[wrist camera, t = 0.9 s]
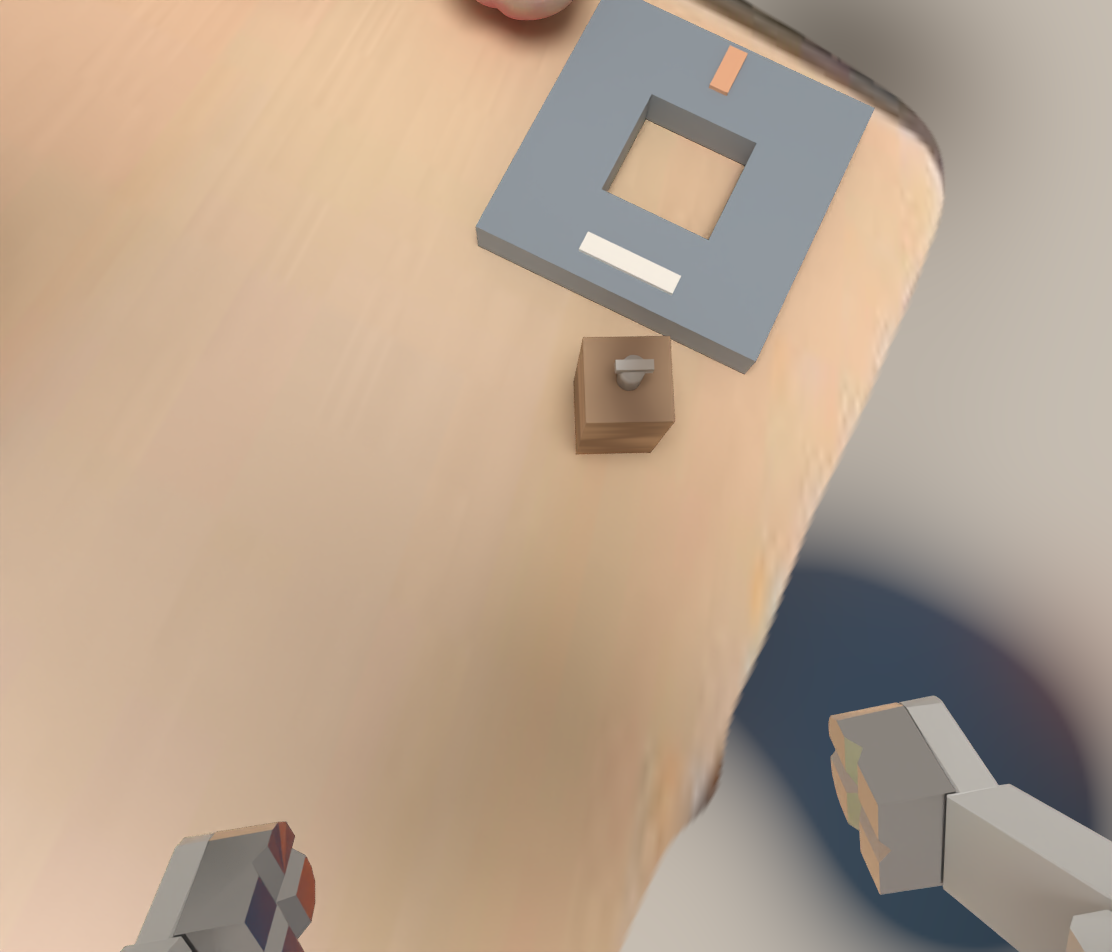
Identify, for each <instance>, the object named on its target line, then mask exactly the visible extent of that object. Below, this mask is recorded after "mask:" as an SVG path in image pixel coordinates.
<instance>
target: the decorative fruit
mask: <svg viewBox="0 0 1112 952" xmlns="http://www.w3.org/2000/svg"><path fill="white" fill-rule="evenodd" d="M476 1H478V2H479V3H481V4H483V5H485V6H487V7H491V8H497V9H499V10H500V11H501V12H502V13H503V14H504V15H506V16H508V17H510V18H512V19H517V20H538V19H543V18H546V17H549V16H552V15H554V14H556V13H558V12H560V11H562V10H563V9H564V8H566V7H567V6H568V5H569V4H570V3H571V2H572V1H573V0H476Z"/></svg>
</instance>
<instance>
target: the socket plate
mask: <svg viewBox="0 0 1112 952" xmlns="http://www.w3.org/2000/svg"><path fill="white" fill-rule="evenodd" d="M874 109H875V108H873V107H871V106H869V105H867V104H864V103H862V102H860V101H858V100H856V99H854V98H852V97H849V96H847V95H845V94H843V93H841V92H839V91H836V90H834V89H832V88H830V87H828V86H826V85H824V84H821V83H819V82H817V81H815V80H813V79H811V78H808V77H806V76H804V75H802V74H800V73H798V72H796V71H793V70H791V69H789V68H787V67H785V66H783V65H780V64H778V63H776V62H774V61H772V60H770V59H768V58H765V57H763V56H761V55H759V54H757V53H755V52H752V51H750V50H748V49H746V48H744V47H742V46H740V45H737V44H735V43H733V42H731V41H729V40H727V39H724V38H722V37H720V36H718V35H716V34H714V33H712V32H709V31H707V30H705V29H703V28H701V27H699V26H696V25H694V24H692V23H690V22H688V21H686V20H684V19H681V18H679V17H677V16H675V15H673V14H671V13H668V12H666V11H664V10H662V9H660V8H658V7H656V6H653V5H651V4H649V3H647V2H645V1H643V0H601V1H600V3H599V5H598V7H597V8H596V10H595V12H594V14H593V16H592V17H591V19H590V21H589V23H588V25H587V26H586V28H585V30H584V32H583V34H582V35H581V37H580V39H579V41H578V43H577V44H576V46H575V48H574V50H573V52H572V54H571V55H570V57H569V59H568V61H567V63H566V64H565V66H564V68H563V70H562V72H561V73H560V75H559V77H558V79H557V81H556V82H555V84H554V86H553V88H552V90H551V91H550V93H549V95H548V97H547V99H546V100H545V102H544V104H543V106H542V108H541V110H540V111H539V113H538V115H537V117H536V119H535V120H534V122H533V124H532V126H531V128H530V129H529V131H528V133H527V135H526V137H525V138H524V140H523V142H522V144H521V146H520V147H519V149H518V151H517V153H516V155H515V156H514V158H513V160H512V162H511V164H510V165H509V167H508V169H507V171H506V173H505V175H504V176H503V178H502V180H501V182H500V184H499V185H498V187H497V189H496V191H495V193H494V194H493V196H492V198H491V200H490V202H489V203H488V205H487V207H486V209H485V211H484V212H483V214H482V216H481V218H480V220H479V221H478V223H477V225H476V232H477V240H478V246H480V247H482V248H484V249H486V250H488V251H490V252H492V253H494V254H496V255H499V256H501V257H503V258H505V259H507V260H509V261H511V262H513V263H515V264H517V265H519V266H521V267H523V268H525V269H528V270H530V271H532V272H534V273H536V274H538V275H540V276H542V277H544V278H546V279H548V280H550V281H552V282H554V283H557V284H559V285H561V286H563V287H565V288H567V289H569V290H571V291H573V292H575V293H577V294H579V295H581V296H583V297H585V298H588V299H590V300H592V301H594V302H596V303H598V304H600V305H602V306H604V307H606V308H608V309H610V310H612V311H614V312H617V313H619V314H621V315H623V316H625V317H627V318H629V319H631V320H633V321H635V322H637V323H639V324H641V325H643V326H646V327H648V328H650V329H652V330H654V331H656V332H658V333H660V334H662V335H664V336H670V339H672V340H674V341H677V342H679V343H681V344H683V345H685V346H687V347H689V348H691V349H693V350H695V351H697V352H699V353H701V354H703V355H706V356H708V357H710V358H712V359H714V360H716V361H718V362H720V363H722V364H724V365H726V366H728V367H730V368H732V369H735V370H737V371H739V372H741V373H743V374H745V373H746V372H747V371H748V370H749V368H750V367H751V366H752V365H753V364H754V363H755V362H756V360H757V358H758V356H759V354H760V352H761V349H762V347H763V345H764V343H765V341H766V339H767V337H768V334H769V332H770V330H771V328H772V326H773V324H774V322H775V320H776V317H777V315H778V313H779V311H780V309H781V307H782V305H783V303H784V300H785V298H786V296H787V294H788V292H789V290H790V288H791V285H792V283H793V281H794V279H795V277H796V275H797V273H798V271H799V268H800V266H801V264H802V262H803V260H804V258H805V256H806V254H807V251H808V249H809V247H810V245H811V243H812V241H813V239H814V237H815V234H816V232H817V230H818V228H819V226H820V224H821V222H822V219H823V217H824V215H825V213H826V211H827V209H828V207H829V205H830V202H831V200H832V198H833V196H834V194H835V192H836V190H837V188H838V185H839V183H840V181H841V179H842V177H843V175H844V173H845V170H846V168H847V166H848V164H849V162H850V160H851V158H852V156H853V153H854V151H855V149H856V147H857V145H858V143H859V141H860V139H861V136H862V134H863V132H864V130H865V128H866V126H867V124H868V121H869V119H870V117H871V115H872V113H873V111H874ZM645 119H647V120H649V121H651V122H653V123H656V124H658V125H660V126H662V127H664V128H666V129H668V130H670V131H673V132H675V133H677V134H679V135H681V136H683V137H685V138H687V139H690V140H692V141H694V142H696V143H698V144H700V145H702V146H704V147H707V148H709V149H711V150H713V151H715V152H717V153H719V154H721V155H724V156H726V157H728V158H730V159H732V160H734V161H736V162H738V163H741V164H743V165H745V168H744V170H743V172H742V174H741V176H740V178H739V180H738V182H737V184H736V186H735V188H734V190H733V192H732V194H731V196H730V198H729V200H728V202H727V204H726V206H725V208H724V210H723V212H722V214H721V216H720V218H719V220H718V222H717V224H716V226H715V228H714V230H713V232H712V234H711V236H710V238H709V240H707V239H705V238H703V237H701V236H699V235H697V234H695V233H692V232H690V231H688V230H686V229H684V228H682V227H680V226H678V225H676V224H674V223H671V222H669V221H667V220H665V219H663V218H661V217H659V216H657V215H655V214H653V213H650V212H648V211H646V210H644V209H642V208H640V207H638V206H636V205H634V204H632V203H629V202H627V201H625V200H623V199H621V198H619V197H617V196H615V195H613V194H611V193H608V190H609V188H610V186H611V184H612V182H613V180H614V178H615V176H616V175H617V173H618V171H619V169H620V167H621V165H622V163H623V161H624V159H625V157H626V156H627V154H628V152H629V150H630V148H631V146H632V144H633V142H634V140H635V138H636V137H637V135H638V133H639V131H640V129H641V127H642V125H643V123H644V121H645Z"/></svg>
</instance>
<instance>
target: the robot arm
mask: <svg viewBox="0 0 1112 952" xmlns="http://www.w3.org/2000/svg"><path fill="white" fill-rule="evenodd" d="M829 735H830V738H831V740H832V742H833V744H834V747H835V749H836V751H835V752H834V753H833V754H832V756H831V765H832V775H833V779H834V784H835V788H836V792H837V795H838V798H839V801H840V804H841V807H842V809H843V812H844V814H845V816H846V819H847V821H848V823H849V824H850V825H851V826H853V827H855V828H856V829H857V830H859V831H860V846H861V853H862V855H863V858H864V860H865V862H866V864H867V866H868V869H869V871H870V873H871V875H872V877H873V880H874V882H875V884H876V886H877V889H878V891H879V893H880V895H881V894H887V893H894V892H900V891H907V890H913V889H921V888H928V887H934V886H941V885H943V889H944V890H946V891H947V892H948V893H949V894H950V895H952V896H953V897H954V898H955V899H956V900H958V901H959V902H960V903H961V904H962V905H964V906H965V907H966V908H967V909H968V910H970V911H971V912H972V913H973V914H975V915H976V916H977V917H978V918H979V919H981V920H982V921H983V922H984V923H985V924H987V925H988V926H989V927H990V928H992V929H993V930H994V931H995V932H996V933H998V934H999V935H1000V936H1001V937H1002V938H1004V939H1005V940H1006V941H1007V942H1008V943H1010V944H1011V945H1012V946H1013V947H1014V948H1016V949H1017V950H1018V951H1019V952H1112V841H1110V840H1108V839H1106V838H1105V837H1103V836H1101V835H1099V834H1097V833H1096V832H1094V831H1092V830H1090V829H1089V828H1087V827H1085V826H1083V825H1081V824H1080V823H1078V822H1076V821H1074V820H1073V819H1071V818H1069V817H1067V816H1066V815H1064V814H1062V813H1060V812H1059V811H1057V810H1055V809H1053V808H1051V807H1050V806H1048V805H1046V804H1044V803H1043V802H1041V801H1039V800H1037V799H1035V798H1034V797H1032V796H1030V795H1028V794H1027V793H1025V792H1023V791H1021V790H1020V789H1018V788H1016V787H1014V786H1012V785H1011V784H1005V785H998V784H997V782H996V781H995V779H994V778H993V776H992V775H991V773H990V772H989V770H988V769H987V768H986V766H985V764H984V763H983V762H982V760H981V759H980V757H979V756H978V754H977V753H976V751H975V750H974V748H973V747H972V745H971V744H970V742H969V741H968V739H967V738H966V736H965V735H964V733H963V732H962V731H961V729H960V727H959V726H958V724H957V723H956V721H955V720H954V718H953V717H952V715H951V714H950V712H949V711H948V710H947V708H946V706H945V705H944V703H943V702H942V701H941V700H940V699H939V698H937V697H936V696H930V697H924V698H919V699H914V700H909V701H904V702H900V703H899V704H898V703H892V704H887V705H882V706H877V707H872V708H867V709H862V710H857V711H852V712H847V713H842V714H838V715H833V716H830V719H829ZM294 838H295V835H294V833H293V832H292V830H291V829H290V827H289V825H288V824H287V822H274V823H268V824H262V825H256V826H250V827H244V828H237V829H231V830H225V831H219V832H215V833H209V834H203V835H198V836H192V837H186V838H184V839H183V840H182V841H181V842H180V843H179V844H178V845H177V846H176V848H175V849H174V852H173V854H172V856H171V859H170V861H169V864H168V866H167V868H166V871H165V873H164V876H163V878H162V880H161V883H160V885H159V888H158V890H157V892H156V895H155V897H154V900H153V902H152V904H151V907H150V909H149V912H148V914H147V916H146V919H145V921H144V924H143V926H142V928H141V931H140V933H139V936H138V938H137V940H136V943H135V944H134V945H129V946H125V947H124V948H123V949H122V950H121V951H120V952H304V950H303V948H302V946H301V945H300V943H299V941H298V938H299V937H300V935H301V934H302V933H303V932H304V930H305V929H306V928H307V927H308V925H309V924H310V923H311V921H312V916H313V911H314V906H315V879H314V875H313V871H312V867H311V865H310V863H309V861H308V859H307V857H306V855H304V854H302V853H300V852H298V851H296V850H294V849H292V846H293V842H294Z"/></svg>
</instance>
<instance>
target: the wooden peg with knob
mask: <svg viewBox="0 0 1112 952" xmlns="http://www.w3.org/2000/svg"><path fill="white" fill-rule="evenodd" d="M574 405H575V435H576V454H608V453H650V452H651V451H652V450H653V449H654V447H655V446H656V445H657V444H658V442H659V441H660V440H661V438H662V437H663V436H664V435H665V433H666V432H667V431H668V430H669V428H670V427H671V426H672V424H673V423H674V422H675V414H674V396H673V377H672V359H671V340H670V336H640V337H583V340H582V345H581V349H580V354H579V359H578V364H577V369H576V373H575V378H574Z"/></svg>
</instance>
